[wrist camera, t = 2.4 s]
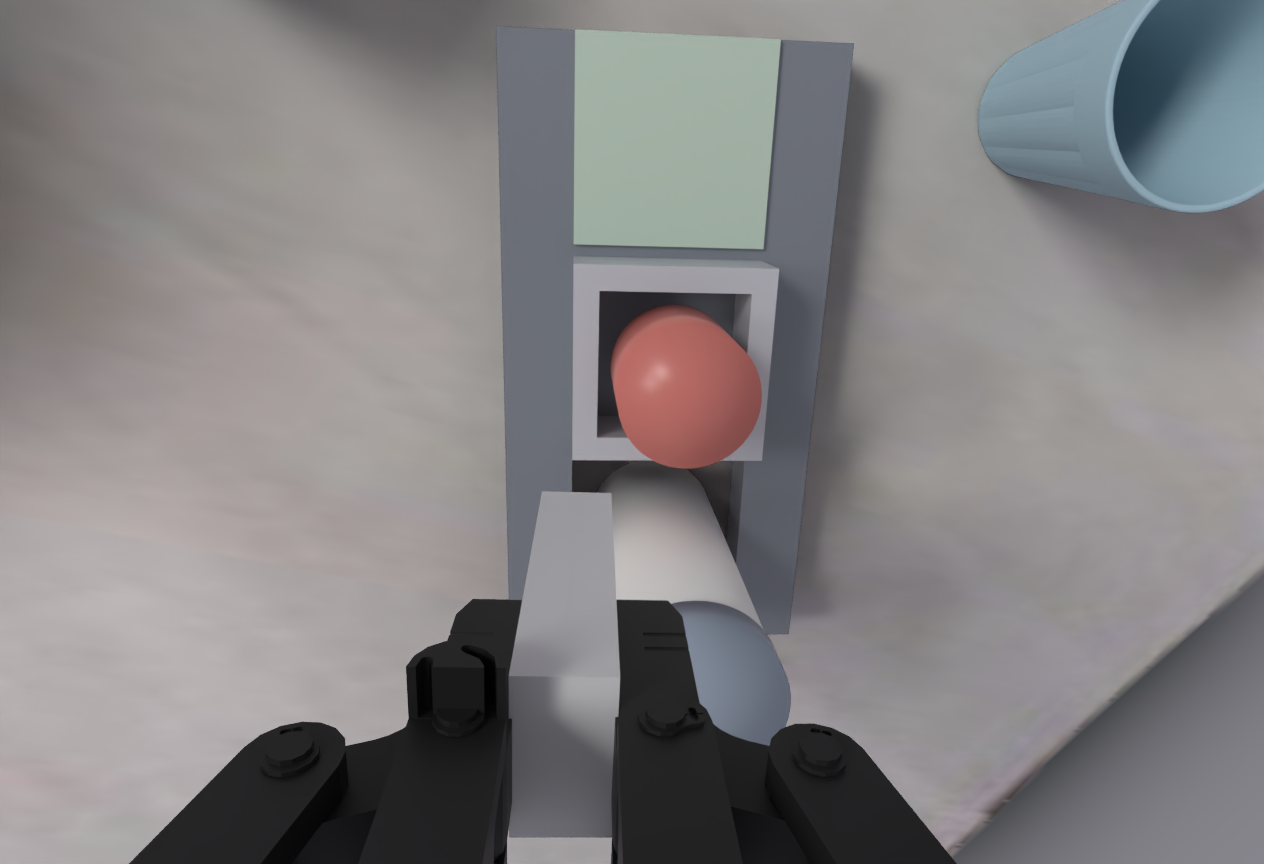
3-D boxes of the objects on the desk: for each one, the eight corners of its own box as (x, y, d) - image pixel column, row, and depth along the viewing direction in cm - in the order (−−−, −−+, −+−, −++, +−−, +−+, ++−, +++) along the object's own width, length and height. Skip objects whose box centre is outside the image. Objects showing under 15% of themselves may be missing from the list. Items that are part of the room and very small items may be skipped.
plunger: (608, 424, 32) (615, 468, 27) (611, 303, 30) (619, 327, 25) (728, 425, 32) (755, 468, 27) (737, 305, 30) (768, 329, 26)
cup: (958, 220, 35) (1109, 236, 25) (943, 39, 33) (1105, -21, 23) (1118, 182, 35) (1332, 183, 25) (1116, -1, 33) (1351, -79, 23)
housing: (513, 611, 40) (504, 676, 35) (501, 37, 31) (487, 10, 26) (776, 607, 41) (805, 670, 36) (833, 52, 33) (883, 29, 27)
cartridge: (588, 569, 40) (598, 789, 25) (590, 457, 38) (601, 627, 23) (707, 568, 40) (781, 783, 26) (714, 457, 38) (800, 624, 24)
